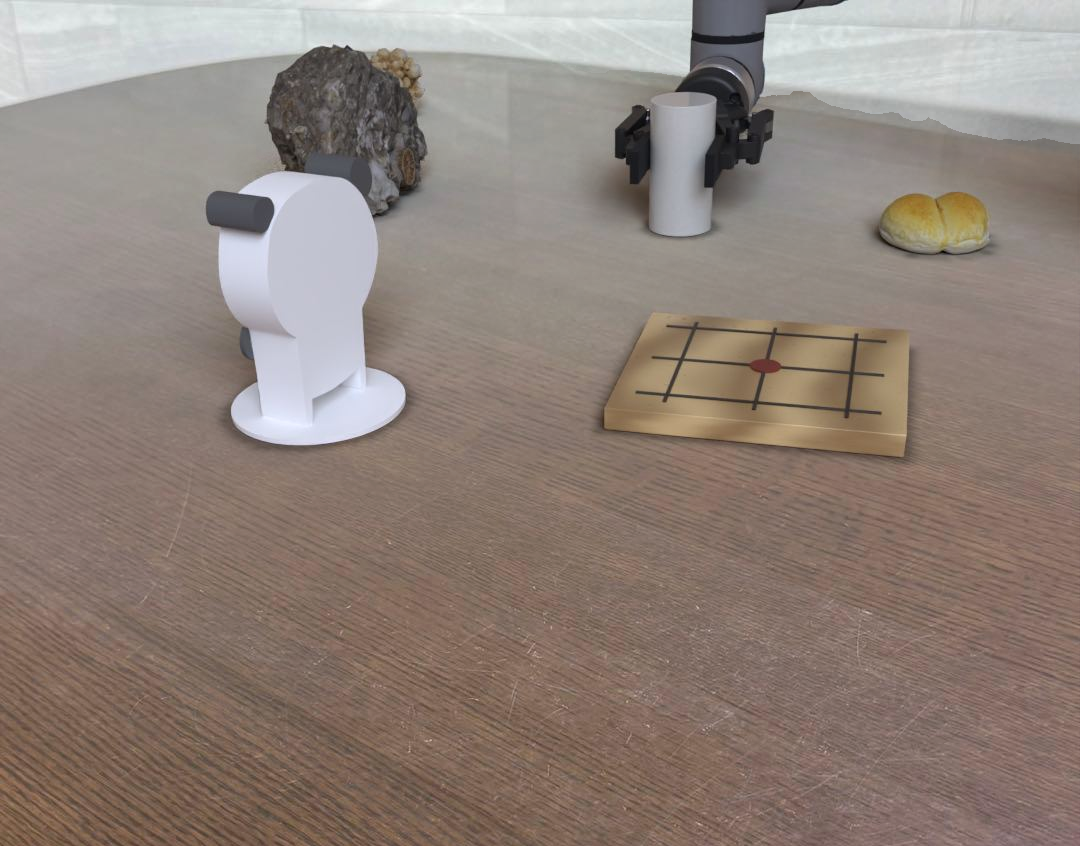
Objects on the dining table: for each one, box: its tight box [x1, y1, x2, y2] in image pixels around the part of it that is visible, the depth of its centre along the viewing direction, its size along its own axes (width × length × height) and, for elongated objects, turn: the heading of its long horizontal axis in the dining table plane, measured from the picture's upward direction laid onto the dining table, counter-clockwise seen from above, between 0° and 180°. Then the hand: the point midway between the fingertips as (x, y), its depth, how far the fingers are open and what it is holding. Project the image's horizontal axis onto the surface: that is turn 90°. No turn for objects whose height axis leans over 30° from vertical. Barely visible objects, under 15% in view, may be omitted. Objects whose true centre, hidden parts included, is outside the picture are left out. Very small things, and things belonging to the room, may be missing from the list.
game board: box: [603, 311, 911, 458], centre depth 79 cm, size 18×16×2 cm
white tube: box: [648, 91, 717, 238], centre depth 105 cm, size 6×6×11 cm
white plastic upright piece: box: [205, 152, 407, 446], centre depth 75 cm, size 12×11×15 cm
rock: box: [263, 43, 429, 216], centre depth 113 cm, size 18×14×15 cm
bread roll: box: [878, 191, 991, 255], centre depth 101 cm, size 8×9×4 cm
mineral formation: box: [369, 47, 426, 111], centre depth 144 cm, size 8×13×15 cm
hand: (671, 169), depth 100 cm, fingers closed on white tube, 6 cm apart
